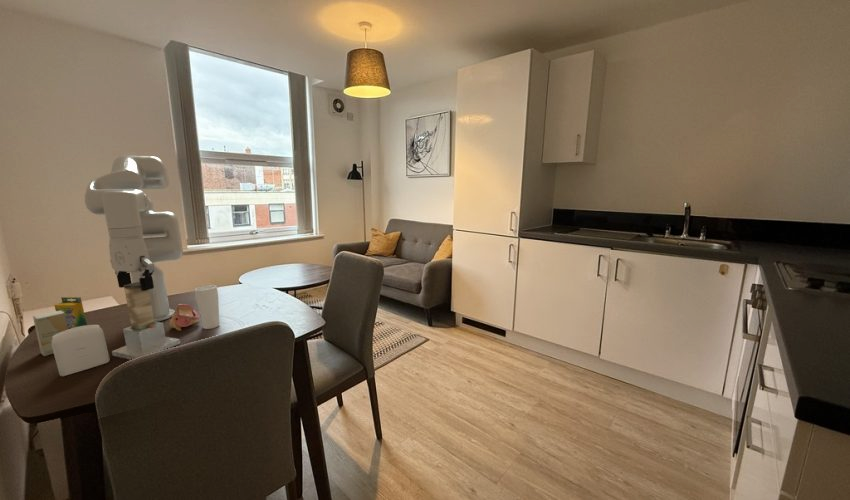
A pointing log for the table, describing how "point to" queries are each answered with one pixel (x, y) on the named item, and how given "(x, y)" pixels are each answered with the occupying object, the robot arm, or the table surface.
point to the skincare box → (49, 329)
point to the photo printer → (79, 349)
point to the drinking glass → (208, 305)
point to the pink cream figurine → (184, 316)
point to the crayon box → (72, 312)
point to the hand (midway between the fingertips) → (136, 287)
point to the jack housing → (144, 341)
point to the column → (139, 306)
